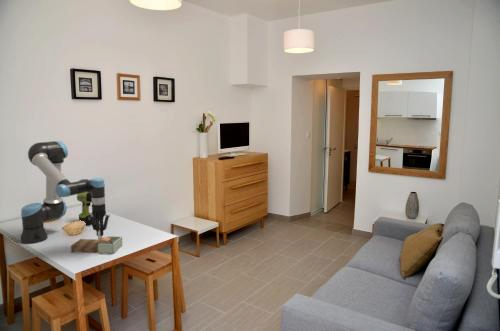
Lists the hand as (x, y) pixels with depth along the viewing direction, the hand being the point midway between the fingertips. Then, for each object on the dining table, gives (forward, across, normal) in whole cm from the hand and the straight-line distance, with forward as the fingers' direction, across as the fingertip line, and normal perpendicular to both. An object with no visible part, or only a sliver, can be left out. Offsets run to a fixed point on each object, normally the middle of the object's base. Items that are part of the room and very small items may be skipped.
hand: (100, 240), depth 220 cm
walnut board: (+6, -7, 0) cm, 9 cm away
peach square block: (+2, +3, 0) cm, 3 cm away
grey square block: (+1, +6, 0) cm, 6 cm away
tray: (+6, +6, 0) cm, 8 cm away
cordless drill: (+6, -29, +44) cm, 53 cm away
